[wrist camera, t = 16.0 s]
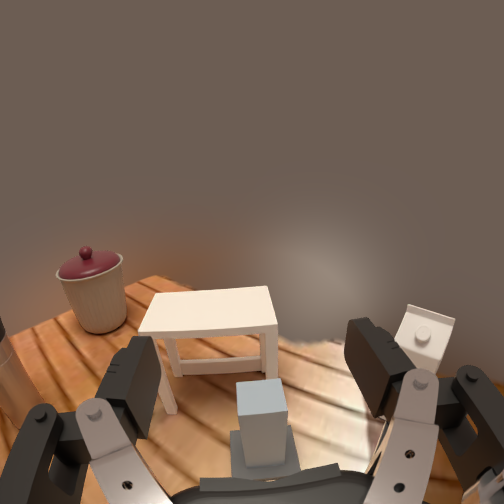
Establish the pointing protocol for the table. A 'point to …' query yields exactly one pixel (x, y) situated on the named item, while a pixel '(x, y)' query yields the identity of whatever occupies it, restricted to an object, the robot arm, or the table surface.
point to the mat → (263, 473)
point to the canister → (95, 289)
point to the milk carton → (424, 337)
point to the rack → (212, 331)
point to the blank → (262, 422)
